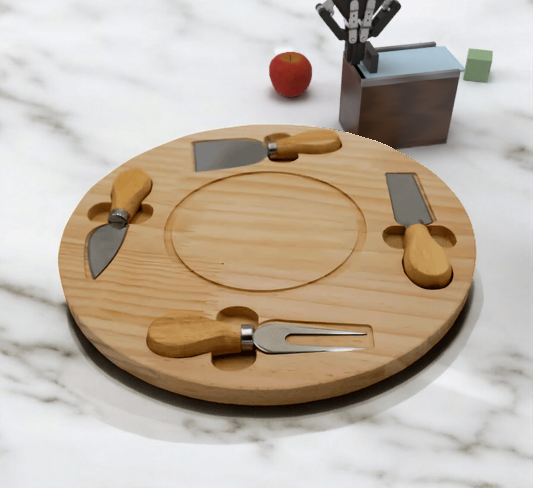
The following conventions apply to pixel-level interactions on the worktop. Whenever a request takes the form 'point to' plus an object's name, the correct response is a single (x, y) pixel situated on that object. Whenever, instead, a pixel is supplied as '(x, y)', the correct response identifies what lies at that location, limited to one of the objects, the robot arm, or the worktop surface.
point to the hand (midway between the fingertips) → (353, 62)
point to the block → (478, 65)
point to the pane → (407, 61)
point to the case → (398, 104)
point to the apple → (290, 73)
